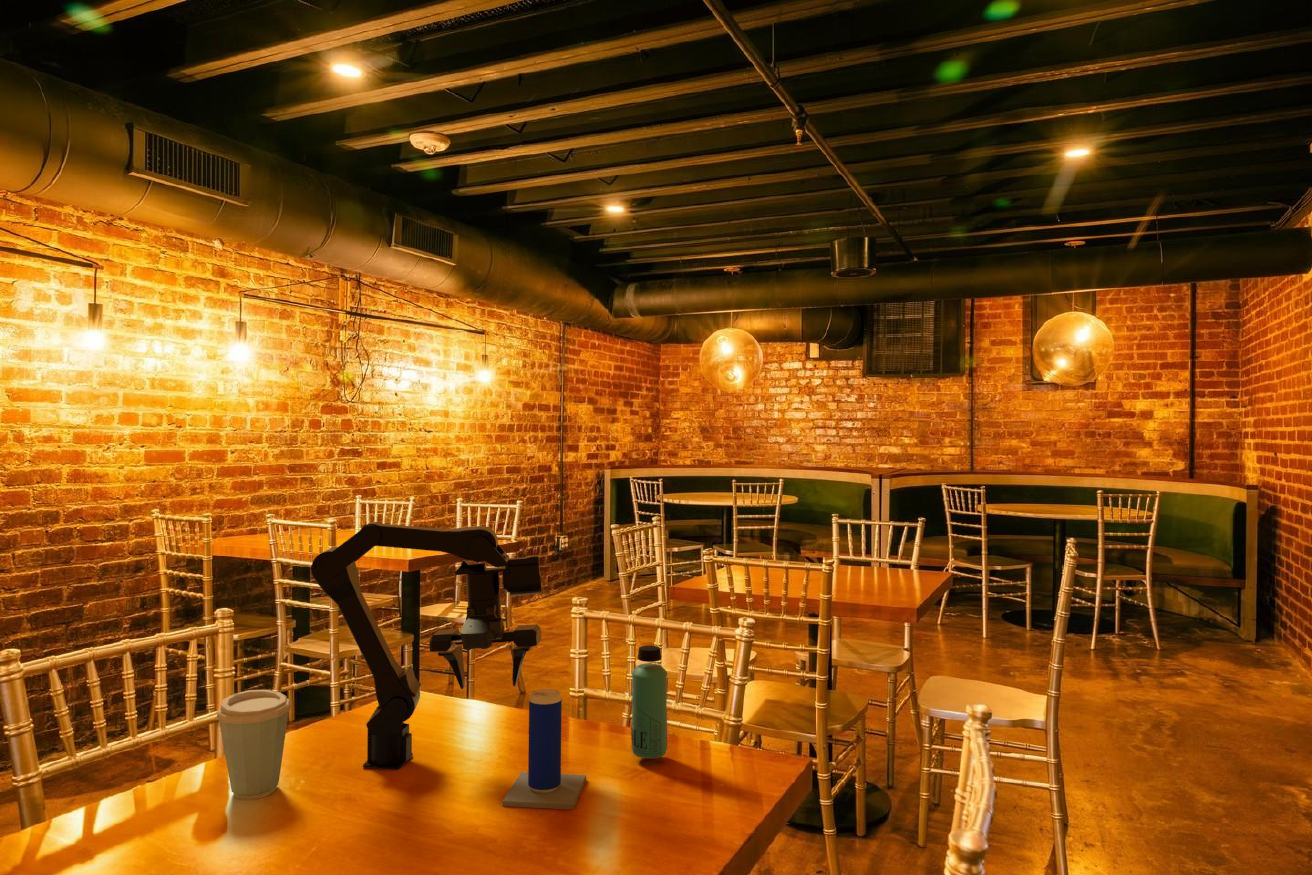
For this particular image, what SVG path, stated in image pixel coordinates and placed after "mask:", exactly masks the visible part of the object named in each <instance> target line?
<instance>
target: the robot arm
mask: <svg viewBox="0 0 1312 875" xmlns="http://www.w3.org/2000/svg"><path fill="white" fill-rule="evenodd" d="M498 538H499V537H498V535H497V533H496V532H495V531H494V530H493V528H491V527H490V526H485V525H478V526H477V525H475V526H474V525H473V526H465V527H456V528H447V529H445V528H444V529H443V528H433V527H424V526H414V525H413V526H411V525H402V524H401V525H400V524H389V523H382V522H379V521H371V522H369V523H367V524H365V525H363V526H362V527H361V528H360V530H359V531H357V532H356V533H355V534H354V535H352V536H351V537H350V538H348V539H347V540H345V541H344V542H343V543H342V544H340V545H338V546H334V547H331V548H328V549H326V550H325V551H322V552H320V553H319V554H318V555H316V557H315V558H314V559H313V560H312V564H311V565H310V573H311V576H312V578H313V579H314V581H315V583H317V585H318V586H319V587H320V589H321V590H322V591H323V592H324V594H325V595H327V596H328V597H329V598H330V599H331V600H332V601H333V602H334V603H335V604H336V605H337V607H338V608H339V609H338V610H339V611H340V613H341V614H342V617H343V619H344V621H345V623H346V625H347V627H348V628H349V631H350V632H351V635H352V637H353V639H354V641H355V643H356V645H357V647H358V649H359V651H360V653H361V655H362V658H363V659H364V661H365V663H366V666H367V667H368V669H369V671H370V673H371V675H372V677H373V678H372V679H373V685H374V690H375V696H376V701H377V703H378V706H377V707H376V708H375V710H374V711H373V713H372V715H371V716H370V718H369V719H368V721H366V725H365V726H366V728H367V736H366V737H367V738H366V739H367V743H366V744H367V747H366V748H367V750H366V752H367V754H366V755H367V756H366V757H367V758H366V761H365V762H364V763H363V764H362V768H365V769H382V770H383V769H384V770H399V769H401V768H402V767H403V766H404V765H406V763H407V762H408V761H409V760H410V759H411V758H412V757H413V756H414V754H413V751H412V746H413V741H412V740H413V734H412V733H411V732H410V724H409V723H405V722H406V721H408V720H409V719H410V718H411V716H413V714H414V712H415V710H416V708H417V706H418V703H419V701H420V699H421V690H420V688H421V686H422V683H421V682H420V681H418V680H417V678H416V676H415V671H414V668H413V666H411V665H410V666H408V667H407V668H405V669H404V667H403V666H401V665H400V664H399V663H397V661H396V659H395V657H394V655H393V653H392V650H391V649H390V646H389V645H388V643H387V641H386V639H385V636H384V635H383V633H382V631H381V629H380V627H379V625H378V623H377V621H376V619H375V617H374V615H373V612H372V611H371V609H370V607H369V605H368V603H367V600H366V599H365V597H364V595H363V593H362V589H361V588H362V587H361V583H360V576H359V575H360V574H359V570H358V567H357V564H356V562H357V561H359V560H360V559H361V558H362V557H364V555H366V554H367V553H368V552H369V551H370V550H372V549H373V548H375V547H385V548H394V549H395V548H397V549H405V550H406V549H407V550H419V551H431V552H440V553H446V554H449V555H452V556H454V557H457V558H461V559H464V560H462V562H461V564H460V566H459V567H458V568H457V569H456V570H455V571H454V575H455V576H465V578H466V593H467V594H466V596H467V597H466V598H467V607H466V618H465V621H464V623H463V625H462V627H461V630H460V629H459V628H450V629H439V630H438V631H436V632H435V633H434V634H432V635H431V637H429V642H428V643H429V644H428V645H429V652H430V653H437V656H438V657H443V658H444V659H445V660H446V661H447V662H448V663H449V665H450V667H451V669H452V671H453V673H454V676H455V677H456V680H457V683H458V685H459V688H460V689H461V690H464V689H465V687H466V682H465V681H466V678H465V677H466V675H465V662H464V654H463V652H464V651H463V650H465V651H471V650H472V649H477V650H478V649H481V650H487V649H490V648H491V647H492V645H493V644H494V643H496V644H497V643H510V642H513V644H514V645H515V646H514V647H513V649H512V677H511V679H512V686H513V687H516V686H517V683H518V681H519V680H518V679H519V676H520V672H521V668H522V664H523V662H524V659H525V657H526V654H527V652H529V651H531V650H532V648H533V647H536V646H538V645H539V643H540V642H541V641H542V629H541V626H540V625H538V624H536V623H535V624H520V625H518V626H517V627H515V628H514V629H513V630H505V624H504V621H503V617H502V600H501V586H500V584H501V582H500V573H501V572H502V586H503V587H502V588H503V591H504V592H506V593H509V596H510V597H514V596H526V595H536V594H539V595H541V594H542V593H543V592H542V590H543V587H542V572H541V570H540V569H541V568H540V556H539V555H538V554H537V555H536V554H535V555H529V556H528V555H527V556H522V557H510V556H509V555H508V554H507V552H506V551H505V550H504V549H503V548H502V546H500V545H499V539H498ZM467 560H468V561H472V562H474V563H470V562H468V561H467ZM475 562H476V563H475ZM486 563H487V564H489V565H491V566H492V567H487V564H486Z"/></svg>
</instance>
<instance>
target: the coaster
mask: <svg viewBox="0 0 1312 875" xmlns="http://www.w3.org/2000/svg"><path fill="white" fill-rule="evenodd" d="M586 781H587V775H586V774H571V773H566V774H565V773H561V784H560V785H559V787H558V788H557V789H556V790H555V791H552V792H549V793H537V792H534V791H532V790H531V788H530V787H529V785H528V771H527V772H526V771H525V772H524V771H521V772H520V773H519V775H518V776H517V777H516V778H515V781H514V782H513V784H512V786H511V787H510V788H509V790H508V792H507V793H506V795H505V797H504V798H503V799H502V807H514V808H516V807H517V808H530V809H531V808H533V809H534V808H535V809H551V810H552V809H555V810H572V811H573V810H574V809H575V807H576V803H577V801H578V800H579V797H580V795H581V793H582V790H583V789H584V786H585V784H586Z"/></svg>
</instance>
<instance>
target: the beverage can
mask: <svg viewBox="0 0 1312 875" xmlns="http://www.w3.org/2000/svg"><path fill="white" fill-rule="evenodd" d="M562 700H563V699H562V696H561V691H559V690H557V689H554V688H540V689H536V690H533V691H532V692H530V696H529V699H528V760H527V761H528V770H527V772H528V785H529V787H530V788H531V790H532V791H534V792H537V793H549V792H552V791H555V790H556V789H557V788H558V787H559V785H560V784H561V774H562V709H563V708H562V706H563V705H562V702H563V701H562Z"/></svg>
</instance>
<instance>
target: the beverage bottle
mask: <svg viewBox="0 0 1312 875" xmlns="http://www.w3.org/2000/svg"><path fill="white" fill-rule="evenodd" d="M661 650H662V649H661V648H660V647H659V646H657V645H652V644H651V645H642V646H639V648H638V652H637V660H639V661H641V662H646V663H640V664H638V665H637V666H636V667H635V668H634V669H633V670H632V671H631V676H632V681H631V682H632V685H631V686H632V687H631V694H630V695H631V703H630V705H631V731H630V738H631V739H630V740H631V750H632V753H633V755H634V756H636V757H638V758H642V759H657V758H661V757H663V756H665V755H666V753H667V751H668V742H669V741H668V740H669V737H668V733H669V731H668V709H667V703H668V702H667V700H668V699H667V695H668V693H667V690H668V689H667V684H668V682H667V681H668V680H667V678H668V672H667V670H666V669H665V668H664V667H663V666H662V665H661V664H660V663H659V664H658V663H654V662H658V661H661V660H662V654H661V653H662V652H661Z"/></svg>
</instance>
